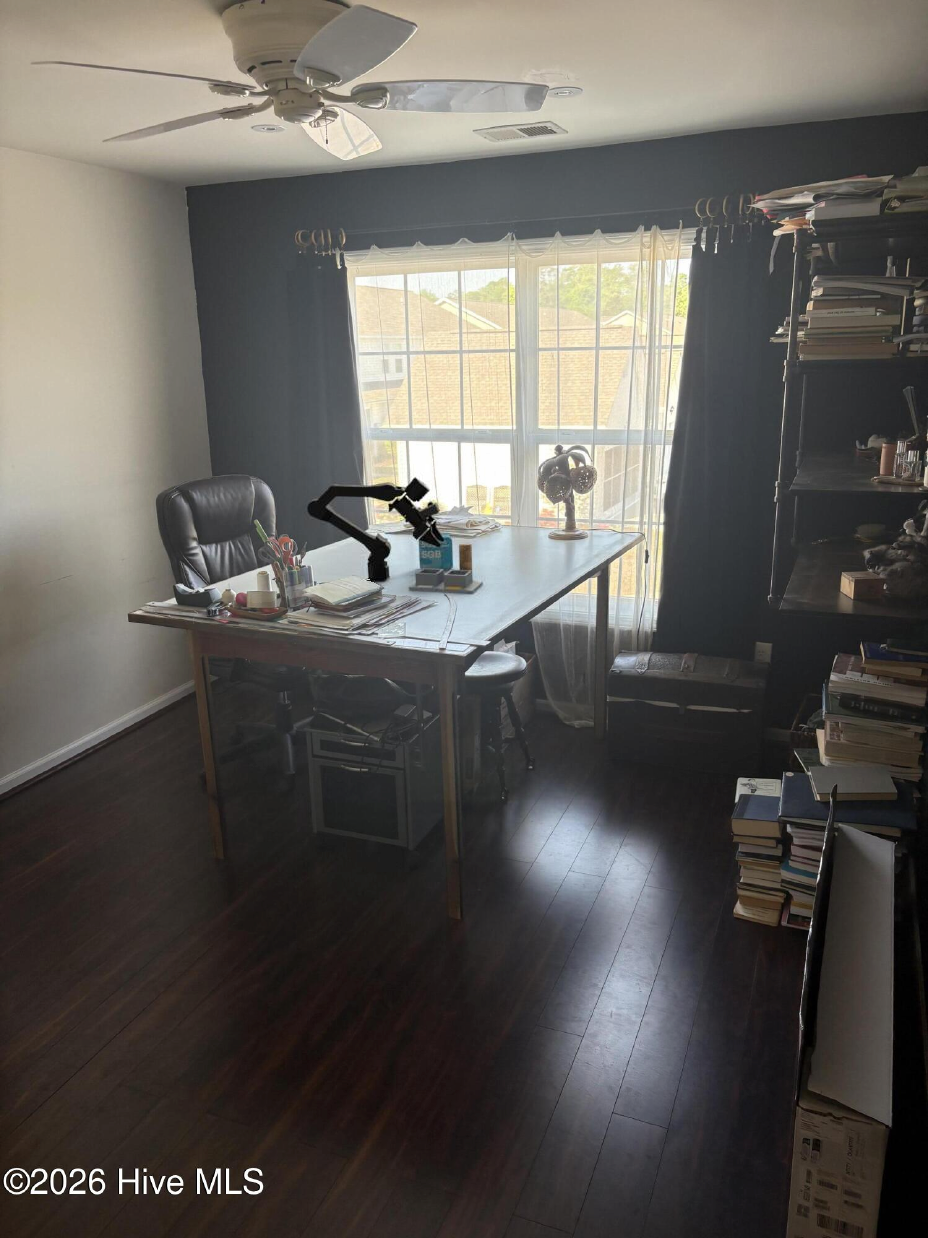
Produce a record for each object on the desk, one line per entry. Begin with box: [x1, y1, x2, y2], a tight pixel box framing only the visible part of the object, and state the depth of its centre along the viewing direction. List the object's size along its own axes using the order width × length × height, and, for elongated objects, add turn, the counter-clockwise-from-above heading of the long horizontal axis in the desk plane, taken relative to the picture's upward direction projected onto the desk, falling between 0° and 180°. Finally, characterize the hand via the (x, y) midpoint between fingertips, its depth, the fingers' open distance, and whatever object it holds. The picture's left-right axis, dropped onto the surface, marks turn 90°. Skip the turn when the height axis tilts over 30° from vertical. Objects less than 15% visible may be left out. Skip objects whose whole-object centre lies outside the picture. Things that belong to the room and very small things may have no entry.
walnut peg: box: [458, 542, 473, 571], centre depth 308 cm, size 4×4×12 cm
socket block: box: [408, 568, 484, 595], centre depth 298 cm, size 22×12×5 cm, turn 73°
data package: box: [418, 534, 454, 570], centre depth 324 cm, size 12×4×12 cm, turn 94°
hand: (441, 543), depth 308 cm, fingers open, 9 cm apart
